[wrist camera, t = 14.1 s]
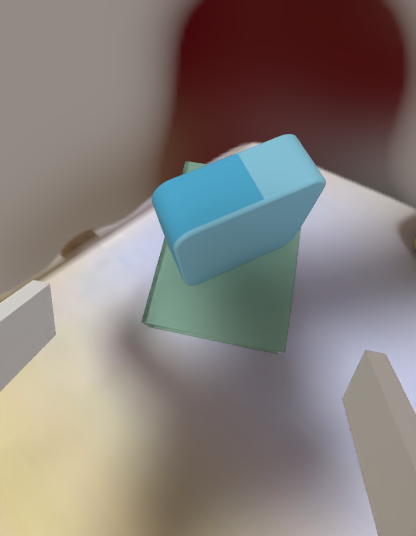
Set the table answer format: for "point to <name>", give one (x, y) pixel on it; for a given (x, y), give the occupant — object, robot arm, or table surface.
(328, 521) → the table surface
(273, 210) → the data package
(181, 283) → the green book
